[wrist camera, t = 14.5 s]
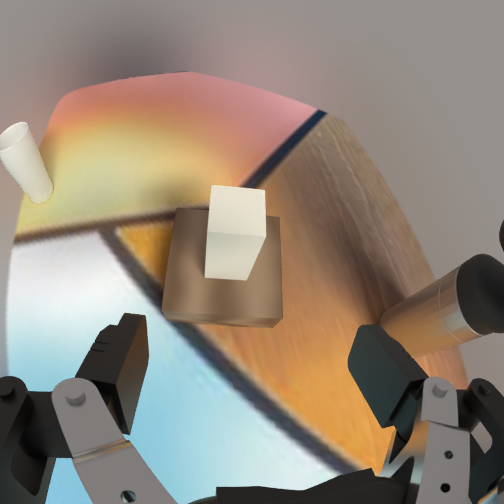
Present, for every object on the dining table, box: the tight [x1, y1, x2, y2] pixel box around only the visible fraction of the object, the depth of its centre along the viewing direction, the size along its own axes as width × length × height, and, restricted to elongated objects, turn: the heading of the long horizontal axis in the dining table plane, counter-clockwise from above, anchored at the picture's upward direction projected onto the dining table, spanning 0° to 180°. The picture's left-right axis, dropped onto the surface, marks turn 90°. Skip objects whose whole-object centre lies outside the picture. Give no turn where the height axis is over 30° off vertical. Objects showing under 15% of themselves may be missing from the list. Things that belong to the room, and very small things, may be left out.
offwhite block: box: [205, 185, 266, 280], centre depth 30 cm, size 5×5×11 cm
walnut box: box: [162, 208, 283, 328], centre depth 38 cm, size 14×14×6 cm
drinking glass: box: [0, 122, 53, 204], centre depth 34 cm, size 7×7×15 cm
